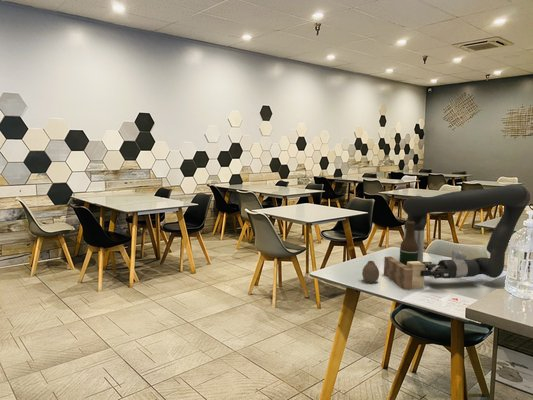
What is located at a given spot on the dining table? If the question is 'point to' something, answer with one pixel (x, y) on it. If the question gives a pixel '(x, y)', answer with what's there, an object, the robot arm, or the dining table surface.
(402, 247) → the beer bottle
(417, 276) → the maple block
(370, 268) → the vase
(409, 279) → the walnut board
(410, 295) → the dining table surface
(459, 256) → the medicine box
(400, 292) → the dining table surface
